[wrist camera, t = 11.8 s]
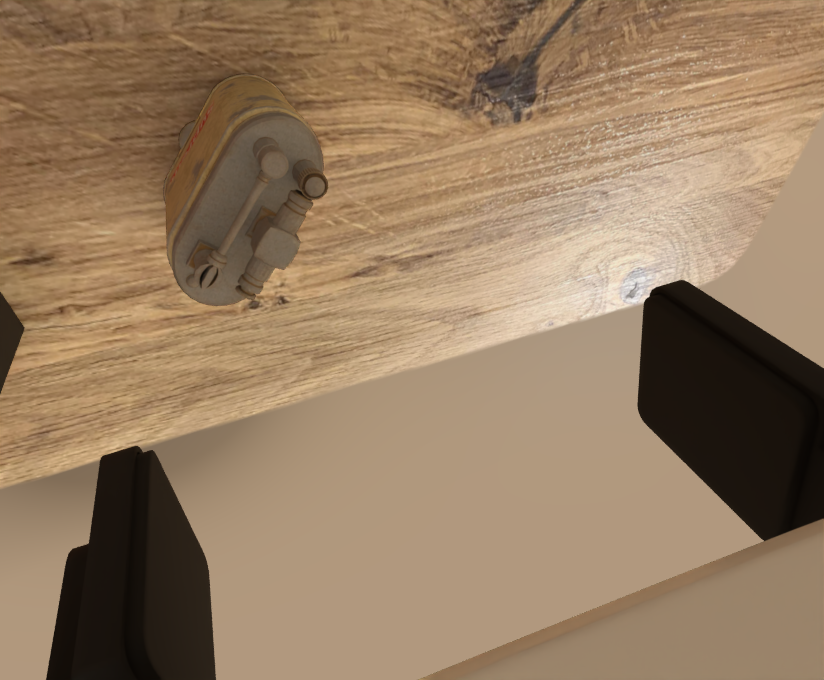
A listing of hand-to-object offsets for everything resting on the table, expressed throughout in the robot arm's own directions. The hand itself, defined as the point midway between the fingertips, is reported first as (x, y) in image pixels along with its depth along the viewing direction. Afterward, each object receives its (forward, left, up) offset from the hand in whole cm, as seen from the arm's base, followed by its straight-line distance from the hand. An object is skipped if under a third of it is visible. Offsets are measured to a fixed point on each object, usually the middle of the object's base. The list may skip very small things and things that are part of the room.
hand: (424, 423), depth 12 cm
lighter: (+2, -1, -20) cm, 20 cm away
